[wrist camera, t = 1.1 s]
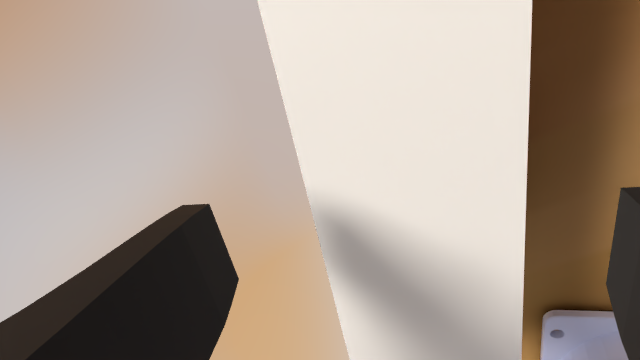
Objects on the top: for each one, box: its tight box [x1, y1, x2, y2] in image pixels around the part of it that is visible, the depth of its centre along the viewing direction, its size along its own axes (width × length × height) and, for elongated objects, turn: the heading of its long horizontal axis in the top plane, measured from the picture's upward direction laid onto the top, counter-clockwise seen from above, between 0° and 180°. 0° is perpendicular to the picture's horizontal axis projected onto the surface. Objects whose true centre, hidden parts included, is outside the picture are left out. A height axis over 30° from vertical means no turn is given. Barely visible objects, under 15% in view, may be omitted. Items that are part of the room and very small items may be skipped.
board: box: [257, 0, 532, 360], centre depth 12 cm, size 14×5×2 cm, turn 12°
